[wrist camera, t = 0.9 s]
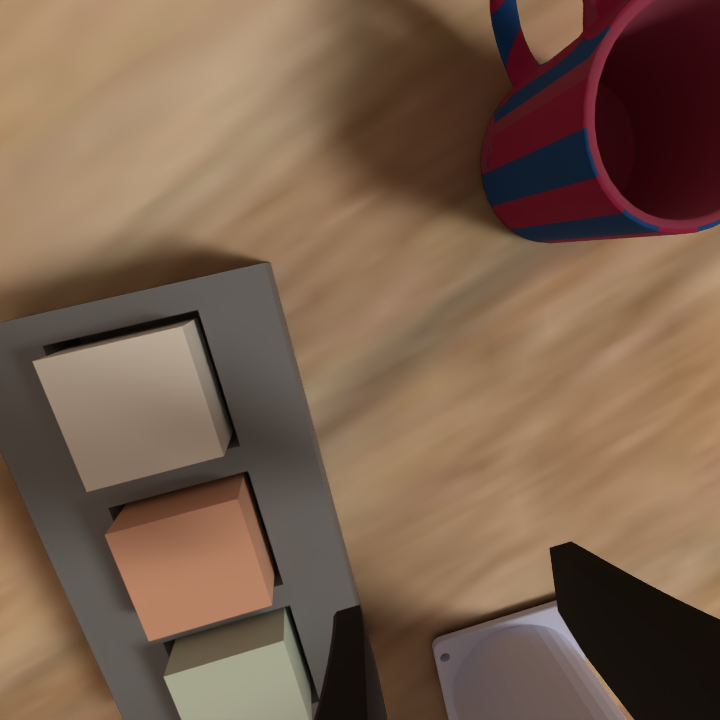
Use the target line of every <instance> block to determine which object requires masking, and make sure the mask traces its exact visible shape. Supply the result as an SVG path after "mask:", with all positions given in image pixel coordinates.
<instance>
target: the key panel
mask: <svg viewBox="0 0 720 720" xmlns="http://www.w3.org/2000/svg"><path fill="white" fill-rule="evenodd" d="M193 318H198V321H199V324H200V327H201V330H202V334H203V337H204V340H205V343H206V346H207V349H208V353H209V356H210V359H211V362H212V365H213V369H214V372H215V375H216V378H217V381H218V385H219V388H220V391H221V394H222V397H223V401H224V404H225V407H226V410H227V413H228V417H229V420H230V423H231V426H232V429H233V433H232V436H231V438H230V441H229V444H228V446H227V449H226V452H225V455H224V456H223V457H219V458H215V459H211V460H207V461H204V462H200V463H196V464H192V465H188V466H185V467H181V468H177V469H173V470H169V471H165V472H162V473H158V474H154V475H150V476H146V477H143V478H139V479H135V480H131V481H127V482H123V483H120V484H116V485H112V486H108V487H104V488H101V489H97V490H93V491H89V492H86V489H85V487H84V484H83V482H82V480H81V477H80V475H79V472H78V470H77V468H76V465H75V463H74V460H73V458H72V456H71V453H70V451H69V448H68V446H67V444H66V441H65V439H64V436H63V434H62V431H61V429H60V427H59V424H58V422H57V419H56V417H55V415H54V412H53V410H52V407H51V405H50V403H49V400H48V398H47V395H46V393H45V391H44V388H43V386H42V383H41V381H40V379H39V376H38V374H37V371H36V369H35V367H34V364H33V362H32V361H35V360H38V359H40V358H43V357H45V356H48V355H51V354H53V353H56V352H59V351H61V350H64V349H66V348H69V347H73V346H78V345H82V344H86V343H90V342H95V341H99V340H103V339H107V338H112V337H116V336H120V335H125V334H129V333H133V332H137V331H142V330H146V329H150V328H155V327H159V326H163V325H167V324H172V323H176V322H180V321H184V320H189V319H193ZM0 451H1V454H2V456H3V458H4V460H5V462H6V465H7V467H8V469H9V471H10V473H11V475H12V478H13V480H14V482H15V484H16V486H17V489H18V491H19V493H20V495H21V497H22V499H23V502H24V504H25V506H26V508H27V510H28V513H29V515H30V517H31V519H32V521H33V523H34V526H35V528H36V530H37V532H38V534H39V537H40V539H41V541H42V543H43V545H44V548H45V550H46V552H47V554H48V556H49V558H50V561H51V563H52V565H53V567H54V569H55V572H56V574H57V576H58V578H59V580H60V582H61V585H62V587H63V589H64V591H65V593H66V596H67V598H68V600H69V602H70V604H71V606H72V609H73V611H74V613H75V615H76V617H77V620H78V622H79V624H80V626H81V628H82V631H83V633H84V635H85V637H86V639H87V641H88V644H89V646H90V648H91V650H92V652H93V655H94V657H95V659H96V661H97V663H98V665H99V668H100V670H101V672H102V674H103V676H104V679H105V681H106V683H107V685H108V687H109V689H110V692H111V694H112V696H113V698H114V700H115V703H116V705H117V707H118V709H119V711H120V714H121V716H122V718H123V720H181V718H180V715H179V713H178V710H177V708H176V706H175V703H174V701H173V698H172V696H171V694H170V691H169V689H168V686H167V684H166V682H165V679H164V674H165V671H166V668H167V664H168V661H169V658H170V655H171V652H172V649H173V646H174V642H175V639H177V638H181V637H184V636H187V635H191V634H194V633H198V632H201V631H204V630H208V629H211V628H215V627H218V626H221V625H225V624H228V623H232V622H235V621H238V620H242V619H245V618H249V617H252V616H255V615H259V614H262V613H265V612H269V611H272V610H276V609H279V608H282V607H286V606H288V608H289V612H290V615H291V618H292V621H293V624H294V627H295V631H296V634H297V637H298V640H299V643H300V647H301V650H302V653H303V656H304V659H305V663H306V666H307V669H308V672H309V675H310V679H311V706H312V720H314V717H315V714H316V710H317V707H318V703H319V699H320V695H321V690H322V686H323V681H324V677H325V672H326V668H327V663H328V657H329V651H330V645H331V638H332V630H333V616H334V615H335V613H336V612H337V611H340V610H343V609H347V608H350V607H353V606H357V605H360V606H361V604H360V601H359V597H358V593H357V589H356V586H355V582H354V578H353V574H352V570H351V567H350V563H349V559H348V555H347V551H346V548H345V544H344V540H343V536H342V532H341V529H340V525H339V521H338V517H337V514H336V510H335V506H334V502H333V498H332V495H331V491H330V487H329V483H328V479H327V476H326V472H325V468H324V464H323V461H322V457H321V453H320V449H319V445H318V442H317V438H316V434H315V430H314V426H313V423H312V419H311V415H310V411H309V407H308V404H307V400H306V396H305V392H304V389H303V385H302V381H301V377H300V373H299V370H298V366H297V362H296V358H295V354H294V351H293V347H292V343H291V339H290V336H289V332H288V328H287V324H286V320H285V317H284V313H283V309H282V305H281V301H280V298H279V294H278V290H277V286H276V282H275V279H274V275H273V271H272V267H271V264H270V262H269V263H261V264H257V265H252V266H248V267H243V268H239V269H235V270H230V271H226V272H221V273H217V274H212V275H208V276H204V277H199V278H195V279H190V280H186V281H182V282H177V283H173V284H168V285H164V286H159V287H155V288H151V289H146V290H142V291H137V292H133V293H128V294H124V295H120V296H115V297H111V298H106V299H102V300H98V301H93V302H89V303H84V304H80V305H75V306H71V307H67V308H62V309H58V310H53V311H49V312H44V313H40V314H36V315H31V316H27V317H22V318H18V319H13V320H9V321H5V322H0ZM242 472H246V474H247V477H248V481H249V484H250V487H251V490H252V493H253V496H254V500H255V503H256V506H257V509H258V512H259V516H260V519H261V522H262V525H263V528H264V532H265V535H266V538H267V541H268V544H269V548H270V551H271V554H272V557H273V560H274V564H275V571H274V586H273V600H272V606H268V607H265V608H262V609H258V610H255V611H251V612H248V613H244V614H241V615H238V616H234V617H231V618H227V619H224V620H221V621H217V622H214V623H210V624H207V625H204V626H200V627H197V628H193V629H190V630H187V631H183V632H180V633H176V634H173V635H170V636H166V637H163V638H159V639H156V640H153V641H148V638H147V636H146V633H145V631H144V629H143V626H142V624H141V621H140V619H139V617H138V614H137V612H136V609H135V607H134V605H133V602H132V600H131V597H130V595H129V593H128V590H127V588H126V585H125V583H124V581H123V578H122V576H121V573H120V571H119V569H118V566H117V564H116V561H115V559H114V557H113V554H112V552H111V549H110V547H109V545H108V542H107V540H106V537H105V533H106V532H107V531H108V529H109V528H110V526H111V525H112V523H113V522H114V521H115V519H116V518H117V516H118V515H119V513H120V512H121V511H122V509H123V508H124V506H125V505H126V503H129V502H133V501H137V500H140V499H144V498H148V497H152V496H155V495H159V494H163V493H167V492H171V491H174V490H178V489H182V488H186V487H189V486H193V485H197V484H201V483H204V482H208V481H212V480H216V479H219V478H223V477H227V476H231V475H234V474H238V473H242ZM361 610H362V608H361ZM362 614H363V612H362ZM363 618H364V616H363ZM364 621H365V620H364ZM365 625H366V623H365ZM366 629H367V627H366ZM367 633H368V631H367ZM368 637H369V635H368ZM369 640H370V639H369Z"/></svg>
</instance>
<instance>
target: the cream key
mask: <svg viewBox="0 0 720 720" xmlns="http://www.w3.org/2000/svg"><path fill="white" fill-rule="evenodd" d="M32 362H33V364H34V367H35V369H36V371H37V374H38V376H39V379H40V381H41V383H42V386H43V388H44V391H45V393H46V395H47V398H48V400H49V403H50V405H51V407H52V410H53V412H54V415H55V417H56V419H57V422H58V424H59V427H60V429H61V431H62V434H63V436H64V439H65V441H66V444H67V446H68V448H69V451H70V453H71V456H72V458H73V460H74V463H75V465H76V468H77V470H78V472H79V475H80V477H81V480H82V482H83V484H84V487H85V489H86V492H89V491H93V490H97V489H101V488H104V487H108V486H112V485H116V484H120V483H123V482H127V481H131V480H135V479H139V478H143V477H146V476H150V475H154V474H158V473H162V472H165V471H169V470H173V469H177V468H181V467H185V466H188V465H192V464H196V463H200V462H204V461H207V460H211V459H215V458H219V457H223V456H224V455H225V452H226V449H227V446H228V444H229V441H230V438H231V436H232V433H233V429H232V426H231V423H230V420H229V417H228V413H227V410H226V407H225V404H224V401H223V397H222V394H221V391H220V388H219V385H218V381H217V378H216V375H215V372H214V369H213V365H212V362H211V359H210V356H209V353H208V349H207V346H206V343H205V340H204V337H203V334H202V330H201V327H200V324H199V321H198V318H193V319H189V320H184V321H180V322H176V323H172V324H167V325H163V326H159V327H155V328H150V329H146V330H142V331H137V332H133V333H129V334H125V335H120V336H116V337H112V338H107V339H103V340H99V341H95V342H90V343H86V344H82V345H78V346H73V347H69V348H66V349H64V350H61V351H59V352H56V353H53V354H51V355H48V356H45V357H43V358H40V359H38V360H35V361H32Z"/></svg>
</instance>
